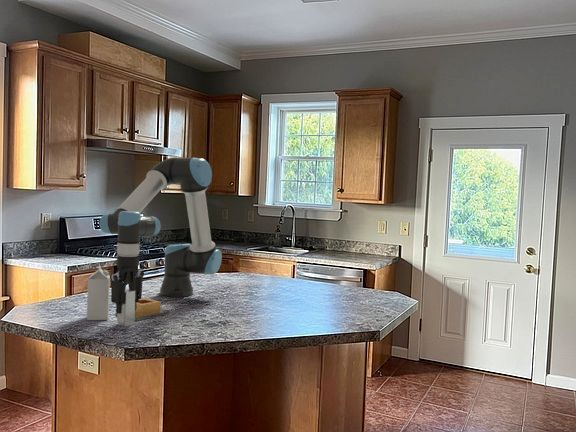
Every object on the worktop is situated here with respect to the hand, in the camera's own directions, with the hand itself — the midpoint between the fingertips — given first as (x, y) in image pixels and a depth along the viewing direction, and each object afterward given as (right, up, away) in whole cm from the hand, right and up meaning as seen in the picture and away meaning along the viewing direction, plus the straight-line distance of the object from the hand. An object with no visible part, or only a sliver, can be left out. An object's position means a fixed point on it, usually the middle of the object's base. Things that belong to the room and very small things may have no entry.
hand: (125, 320), depth 185 cm
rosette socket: (+2, -1, +16) cm, 16 cm away
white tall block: (0, -1, 0) cm, 1 cm away
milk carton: (-12, -1, +7) cm, 14 cm away
